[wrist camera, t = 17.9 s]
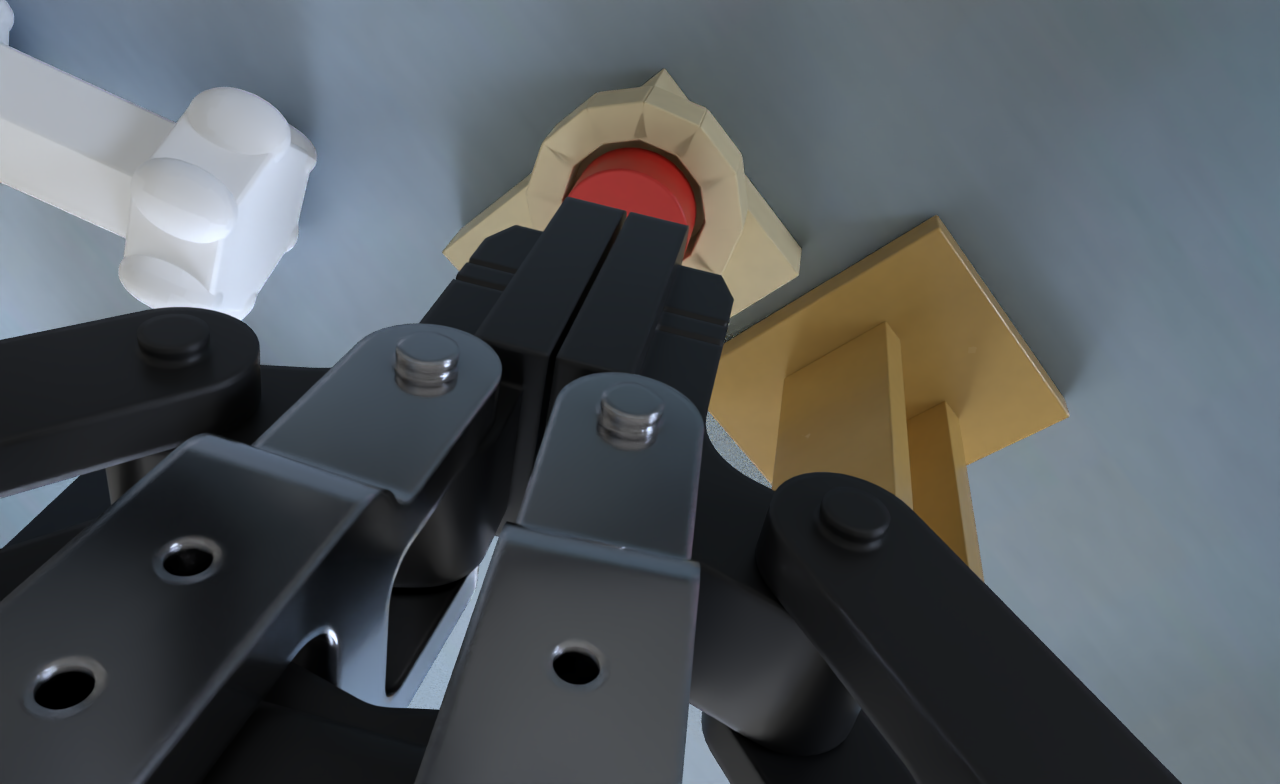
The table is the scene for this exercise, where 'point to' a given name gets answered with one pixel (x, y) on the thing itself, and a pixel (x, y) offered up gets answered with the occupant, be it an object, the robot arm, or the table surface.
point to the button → (639, 186)
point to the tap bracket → (889, 382)
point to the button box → (696, 143)
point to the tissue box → (70, 507)
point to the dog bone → (159, 179)
